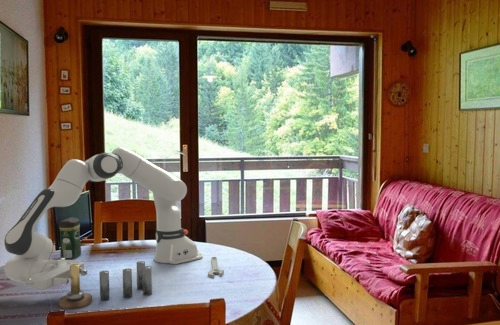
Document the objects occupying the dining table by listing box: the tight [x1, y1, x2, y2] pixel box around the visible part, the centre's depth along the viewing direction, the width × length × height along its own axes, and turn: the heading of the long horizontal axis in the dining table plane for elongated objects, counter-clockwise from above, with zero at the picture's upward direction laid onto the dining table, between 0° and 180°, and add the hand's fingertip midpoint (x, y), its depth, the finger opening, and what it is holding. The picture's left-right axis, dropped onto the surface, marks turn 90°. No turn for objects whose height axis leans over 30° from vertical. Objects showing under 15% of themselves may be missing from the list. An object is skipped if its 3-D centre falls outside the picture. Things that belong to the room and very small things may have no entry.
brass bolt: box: [66, 264, 85, 302], centre depth 153 cm, size 6×6×12 cm
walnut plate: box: [58, 292, 93, 310], centre depth 153 cm, size 11×11×2 cm
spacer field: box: [98, 260, 153, 302], centre depth 161 cm, size 15×17×10 cm
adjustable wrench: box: [207, 256, 225, 279], centre depth 191 cm, size 25×6×2 cm, turn 2°
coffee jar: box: [58, 216, 82, 260], centre depth 207 cm, size 10×8×19 cm
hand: (76, 276), depth 152 cm, fingers open, 8 cm apart
